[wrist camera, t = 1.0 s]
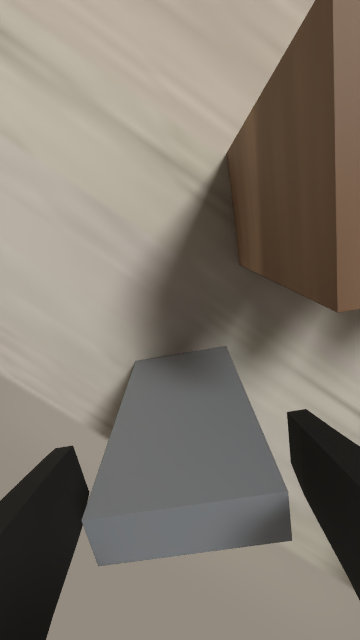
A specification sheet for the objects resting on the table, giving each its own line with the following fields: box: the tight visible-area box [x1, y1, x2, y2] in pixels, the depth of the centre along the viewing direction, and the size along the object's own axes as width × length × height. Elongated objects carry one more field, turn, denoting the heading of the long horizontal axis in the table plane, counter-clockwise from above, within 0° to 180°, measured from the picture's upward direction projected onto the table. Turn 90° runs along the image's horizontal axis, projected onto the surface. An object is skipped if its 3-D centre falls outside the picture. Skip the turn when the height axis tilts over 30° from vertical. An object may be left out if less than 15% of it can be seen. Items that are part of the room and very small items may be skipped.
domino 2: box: [227, 0, 360, 312], centre depth 9 cm, size 2×5×9 cm, turn 10°
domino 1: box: [82, 346, 292, 566], centre depth 11 cm, size 2×5×9 cm, turn 100°
